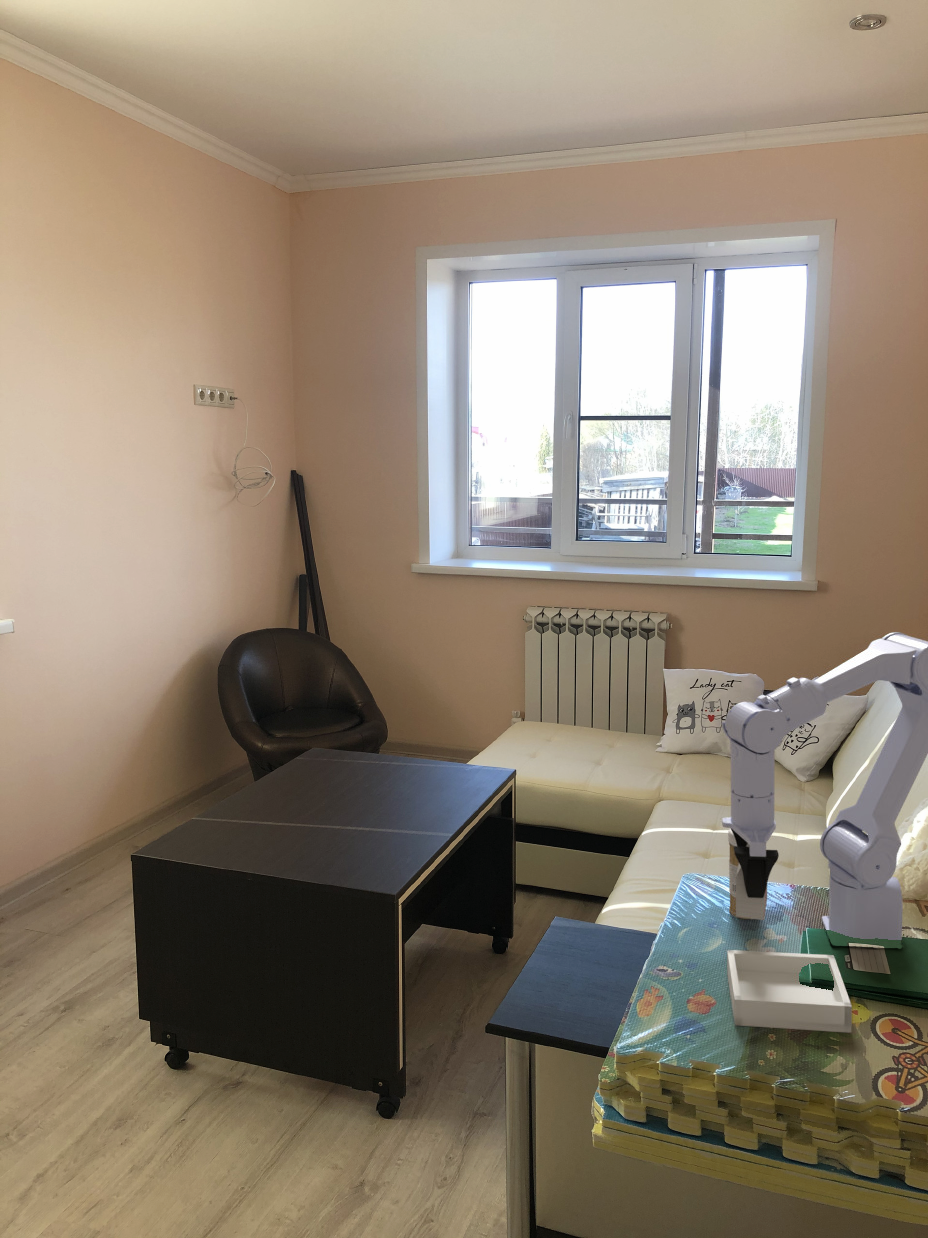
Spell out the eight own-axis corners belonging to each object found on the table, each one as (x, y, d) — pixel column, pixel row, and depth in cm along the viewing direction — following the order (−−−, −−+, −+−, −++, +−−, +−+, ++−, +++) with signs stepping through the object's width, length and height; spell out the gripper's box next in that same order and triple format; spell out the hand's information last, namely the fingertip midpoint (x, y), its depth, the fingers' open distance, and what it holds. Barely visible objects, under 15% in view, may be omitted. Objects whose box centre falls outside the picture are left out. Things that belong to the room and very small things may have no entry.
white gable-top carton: (735, 916, 129) (735, 847, 128) (740, 895, 135) (740, 829, 134) (764, 920, 128) (764, 850, 126) (767, 898, 134) (767, 831, 133)
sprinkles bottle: (766, 914, 143) (766, 830, 141) (745, 923, 141) (745, 839, 138) (742, 903, 147) (742, 821, 144) (722, 912, 144) (721, 829, 142)
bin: (833, 979, 125) (833, 955, 125) (851, 1032, 114) (851, 1006, 114) (727, 973, 128) (727, 950, 127) (734, 1025, 117) (734, 999, 116)
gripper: (718, 771, 136) (719, 859, 139) (726, 810, 122) (726, 907, 125) (769, 772, 135) (769, 861, 137) (782, 811, 121) (782, 909, 124)
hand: (752, 883), depth 131 cm, fingers closed on white gable-top carton, 7 cm apart
